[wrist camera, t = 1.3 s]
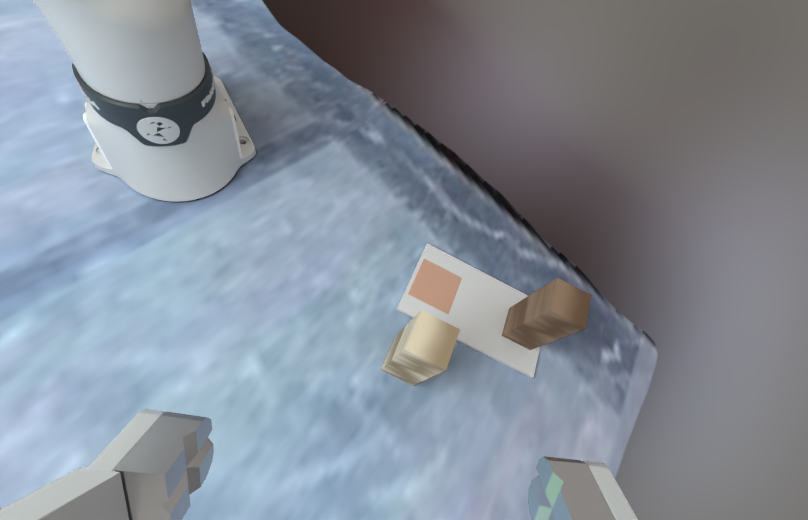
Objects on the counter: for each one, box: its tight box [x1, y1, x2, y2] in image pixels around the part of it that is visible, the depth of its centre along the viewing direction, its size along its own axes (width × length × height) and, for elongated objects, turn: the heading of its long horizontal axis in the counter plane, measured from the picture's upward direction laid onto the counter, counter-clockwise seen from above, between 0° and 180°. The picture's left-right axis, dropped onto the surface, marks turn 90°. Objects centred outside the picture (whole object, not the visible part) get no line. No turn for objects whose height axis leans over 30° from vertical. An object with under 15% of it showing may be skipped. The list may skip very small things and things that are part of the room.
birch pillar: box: [381, 310, 460, 386], centre depth 41 cm, size 4×4×11 cm
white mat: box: [396, 244, 540, 378], centre depth 51 cm, size 20×11×1 cm, turn 66°
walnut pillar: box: [501, 278, 591, 350], centre depth 46 cm, size 4×4×11 cm
